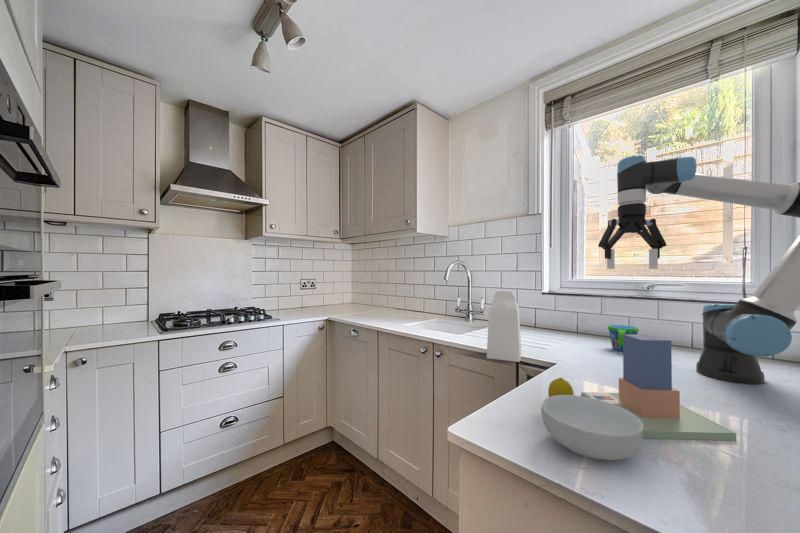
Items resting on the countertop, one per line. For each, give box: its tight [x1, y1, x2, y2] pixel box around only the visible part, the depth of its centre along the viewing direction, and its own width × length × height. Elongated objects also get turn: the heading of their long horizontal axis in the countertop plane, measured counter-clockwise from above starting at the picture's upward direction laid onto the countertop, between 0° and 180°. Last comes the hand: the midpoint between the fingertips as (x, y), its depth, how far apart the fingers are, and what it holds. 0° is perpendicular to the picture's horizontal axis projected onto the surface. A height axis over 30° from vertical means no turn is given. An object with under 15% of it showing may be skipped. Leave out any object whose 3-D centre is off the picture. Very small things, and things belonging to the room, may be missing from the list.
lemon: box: [548, 377, 575, 397], centre depth 76 cm, size 6×6×8 cm
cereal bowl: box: [540, 394, 644, 461], centre depth 60 cm, size 17×17×7 cm
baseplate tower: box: [580, 377, 737, 442], centre depth 73 cm, size 20×20×8 cm
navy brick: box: [622, 333, 673, 390], centre depth 73 cm, size 6×6×11 cm
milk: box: [486, 290, 522, 363], centre depth 124 cm, size 12×12×26 cm
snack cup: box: [607, 324, 639, 353], centre depth 132 cm, size 16×10×10 cm
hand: (632, 268), depth 103 cm, fingers open, 13 cm apart
